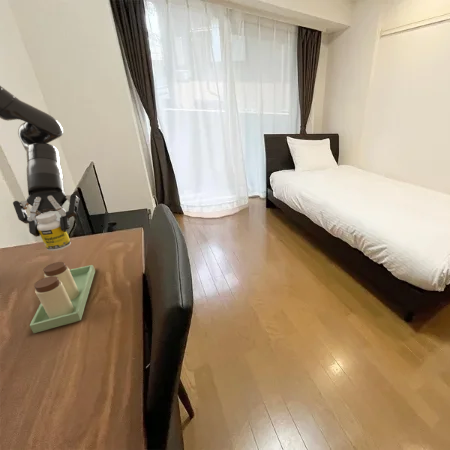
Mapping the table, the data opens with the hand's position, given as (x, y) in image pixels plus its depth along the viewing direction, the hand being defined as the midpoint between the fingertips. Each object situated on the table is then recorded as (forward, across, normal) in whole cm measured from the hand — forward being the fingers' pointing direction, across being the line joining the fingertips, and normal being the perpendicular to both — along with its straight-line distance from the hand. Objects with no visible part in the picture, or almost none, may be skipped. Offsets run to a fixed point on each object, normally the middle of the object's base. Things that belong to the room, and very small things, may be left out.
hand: (50, 232), depth 73 cm
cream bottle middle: (+17, 0, +7) cm, 18 cm away
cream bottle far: (+22, 0, +2) cm, 22 cm away
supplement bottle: (+3, 0, +5) cm, 6 cm away
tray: (+17, 0, +7) cm, 19 cm away
